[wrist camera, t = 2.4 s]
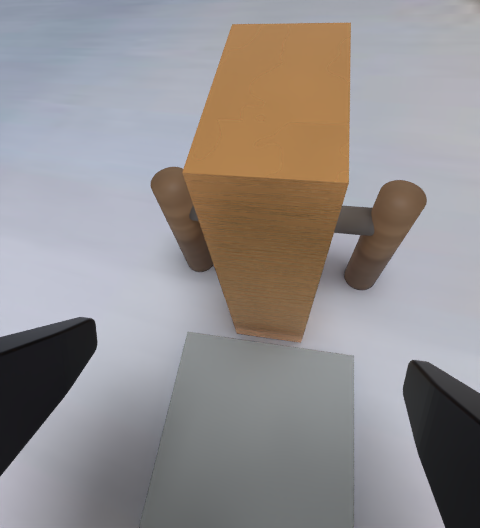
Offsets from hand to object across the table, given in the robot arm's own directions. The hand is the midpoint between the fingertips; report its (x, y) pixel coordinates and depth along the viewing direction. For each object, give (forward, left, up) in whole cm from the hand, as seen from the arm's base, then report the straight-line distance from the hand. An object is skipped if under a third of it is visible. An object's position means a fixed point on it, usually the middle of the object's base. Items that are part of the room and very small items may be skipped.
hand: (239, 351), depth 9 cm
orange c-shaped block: (+7, 0, -11) cm, 13 cm away
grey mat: (-2, 0, -11) cm, 11 cm away
